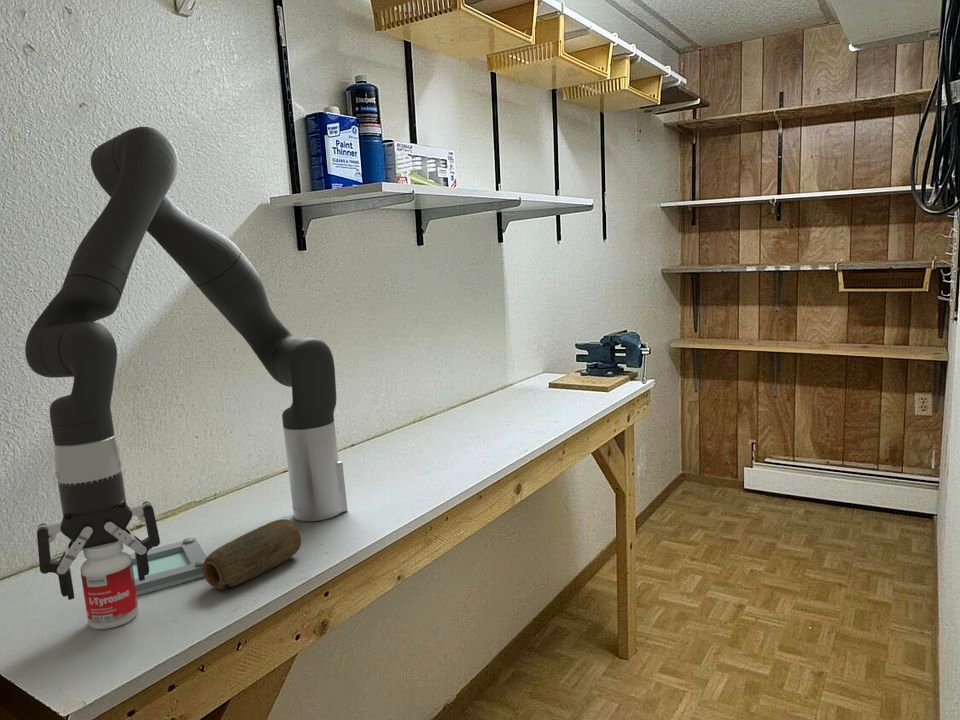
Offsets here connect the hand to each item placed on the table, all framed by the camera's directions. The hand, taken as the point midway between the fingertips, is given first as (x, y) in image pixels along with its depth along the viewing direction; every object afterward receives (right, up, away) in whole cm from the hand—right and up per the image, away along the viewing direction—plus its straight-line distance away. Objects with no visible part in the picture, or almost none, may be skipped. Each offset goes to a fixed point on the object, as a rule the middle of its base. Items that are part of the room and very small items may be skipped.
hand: (107, 587), depth 96 cm
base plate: (0, -3, +15) cm, 15 cm away
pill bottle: (+1, -5, +1) cm, 5 cm away
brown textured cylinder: (+16, -2, +12) cm, 20 cm away
